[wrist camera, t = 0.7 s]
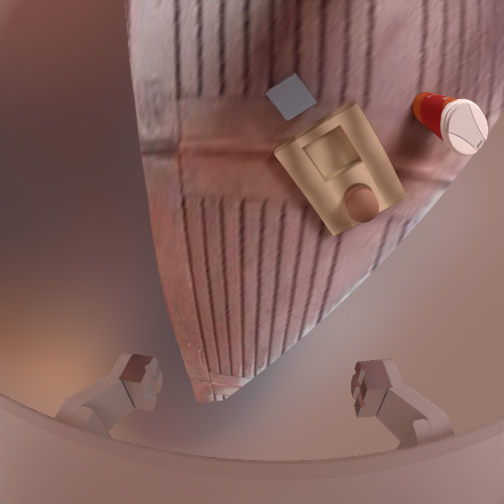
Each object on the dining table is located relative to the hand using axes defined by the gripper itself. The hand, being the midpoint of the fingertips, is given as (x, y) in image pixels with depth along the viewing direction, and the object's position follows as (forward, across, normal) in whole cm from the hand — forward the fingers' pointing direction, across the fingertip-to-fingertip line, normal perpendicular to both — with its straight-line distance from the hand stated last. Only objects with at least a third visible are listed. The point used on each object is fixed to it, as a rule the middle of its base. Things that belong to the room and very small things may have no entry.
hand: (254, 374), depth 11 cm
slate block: (+39, -4, -15) cm, 42 cm away
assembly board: (+41, -12, -3) cm, 43 cm away
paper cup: (+38, -26, -15) cm, 48 cm away
